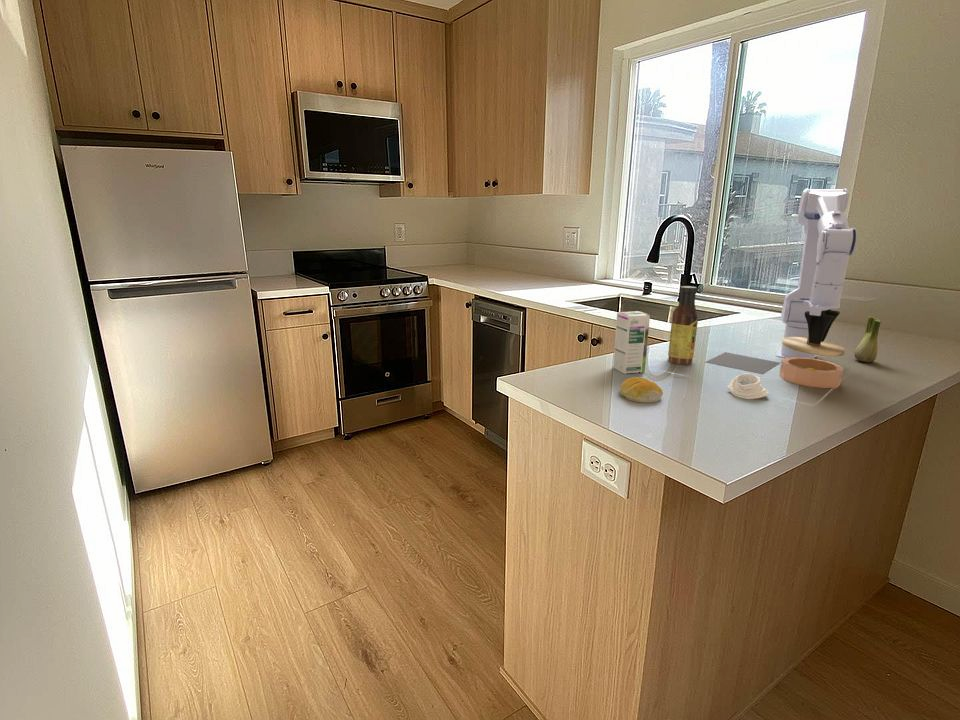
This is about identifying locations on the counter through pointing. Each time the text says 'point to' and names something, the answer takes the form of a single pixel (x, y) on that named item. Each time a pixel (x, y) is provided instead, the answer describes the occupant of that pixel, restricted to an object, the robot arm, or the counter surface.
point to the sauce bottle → (684, 328)
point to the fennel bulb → (868, 342)
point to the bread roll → (641, 390)
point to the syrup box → (631, 341)
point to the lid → (813, 347)
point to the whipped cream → (747, 387)
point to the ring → (811, 372)
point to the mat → (743, 362)
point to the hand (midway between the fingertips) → (816, 342)
